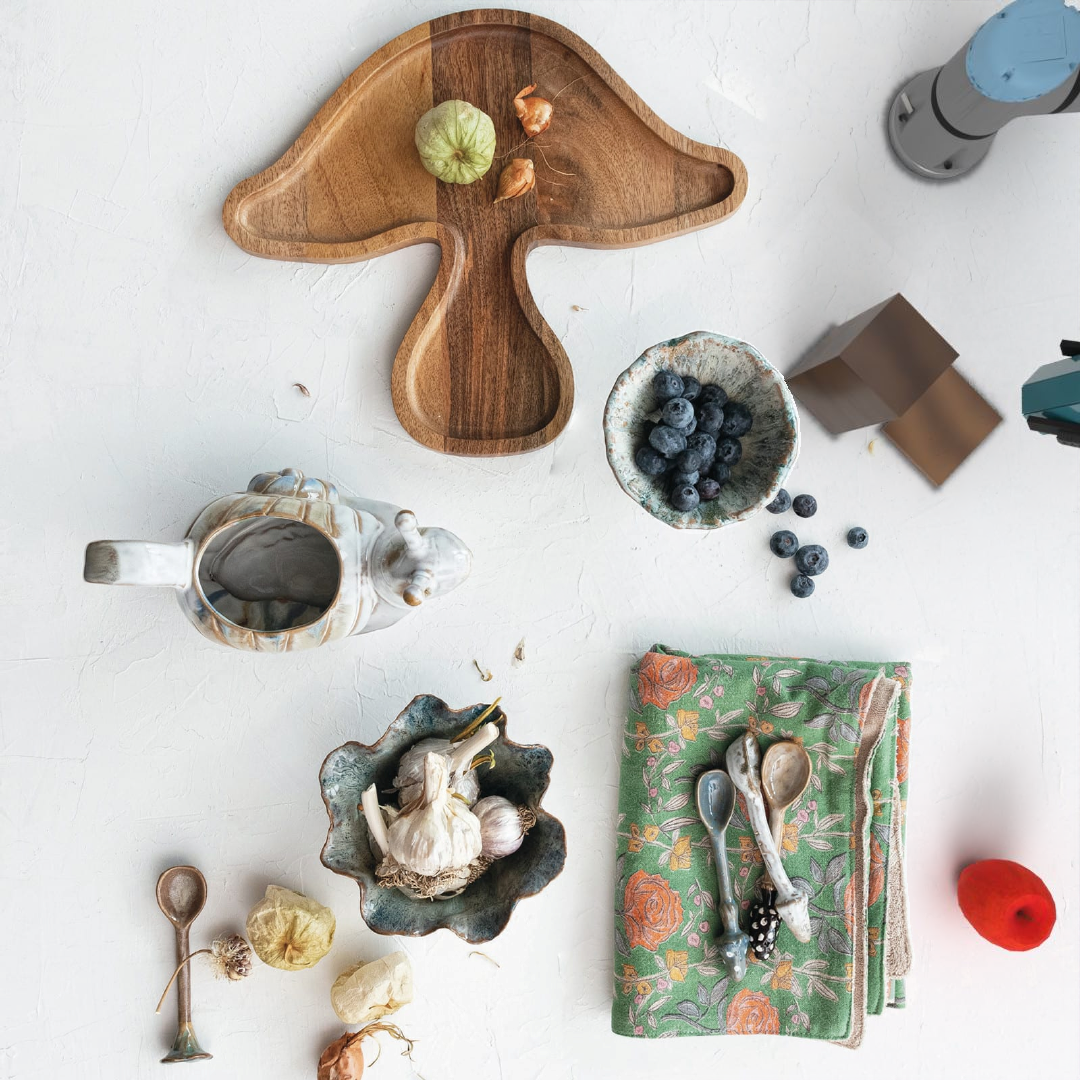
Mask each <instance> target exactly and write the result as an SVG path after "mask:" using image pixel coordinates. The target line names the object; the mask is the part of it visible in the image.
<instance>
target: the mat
mask: <svg viewBox="0 0 1080 1080" xmlns="http://www.w3.org/2000/svg"><path fill="white" fill-rule="evenodd" d="M1003 419H1004V418H1003V417H1002V416H1001V415H1000V414H999V413H998V412H997V411H996V410H995V409H994V408H993V407H992V406H991V405H990V404H989V402H987V401H986V400H985V398H983V396H981V395H980V393H978V392H977V391H976V389H975V388H974V387H973V386H972V385H971V384H970V383H969V382H968V381H967V380H966V379H965V378H964V377H963V376H962V375H961V374H960V373H959V372H958V371H957V370H956V369H955V368H954V367H953V366H952V364H951V365H950V366H949V367H948V368H947V370H946V371H945V372H944V373H943V374H942V375H941V376H940V377H939V378H938V379H937V380H936V381H935V382H934V383H933V384H932V385H931V386H930V387H929V388H928V390H927V391H926V392H925V393H924V394H923V395H922V396H921V397H920V398H919V399H918V400H917V401H916V402H915V403H914V404H913V405H912V406H911V407H910V408H909V410H908V411H907V412H906V413H905V414H904V415H903V416H902V417H901V418H899V419H895V420H891V421H887V422H886V423H885V424H884V425H883V427H882V428H881V429H880V430H879V431H880V432H881V433H882V434H883V435H884V436H885V437H886V438H887V439H888V440H889V441H890V442H891V443H892V444H893V445H894V446H895V447H896V448H897V449H898V450H899V451H900V453H902V454H903V455H904V456H905V458H907V459H908V460H909V461H910V463H912V465H914V467H916V468H917V470H919V472H920V473H921V474H922V475H923V476H924V477H925V478H926V479H927V480H928V481H929V482H930V483H931V484H932V485H933V486H934V487H936V488H938V487H941V485H943V484H944V482H945V481H946V480H947V479H948V478H949V477H950V476H951V475H952V474H953V473H954V472H955V471H956V470H957V469H958V467H960V465H961V464H962V463H964V461H965V460H966V459H967V458H968V457H969V456H970V455H971V454H972V452H974V451H975V449H976V448H977V447H978V446H979V445H981V444H982V442H983V441H984V440H985V439H986V438H987V437H988V436H989V435H990V434H991V432H993V430H994V429H995V428H996V427H997V426H998V425H999V424H1000V423H1001V422H1002V421H1003Z"/></svg>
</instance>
